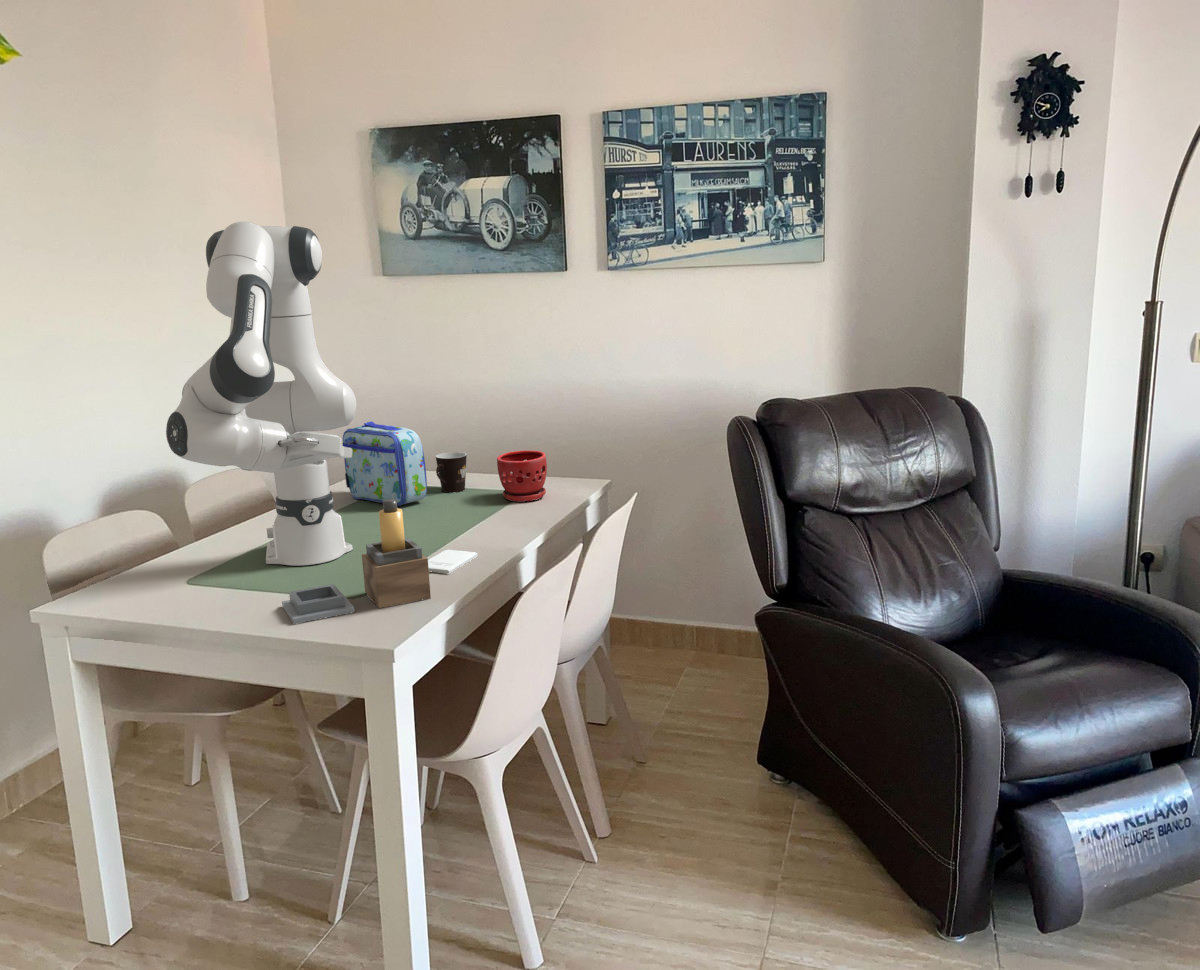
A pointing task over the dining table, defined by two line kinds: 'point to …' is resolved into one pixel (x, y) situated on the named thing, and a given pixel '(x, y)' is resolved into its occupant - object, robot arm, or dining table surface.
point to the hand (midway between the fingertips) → (336, 456)
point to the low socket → (316, 603)
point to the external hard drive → (450, 560)
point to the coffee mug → (451, 471)
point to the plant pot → (522, 475)
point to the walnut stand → (395, 574)
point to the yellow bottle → (391, 527)
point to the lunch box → (385, 464)
